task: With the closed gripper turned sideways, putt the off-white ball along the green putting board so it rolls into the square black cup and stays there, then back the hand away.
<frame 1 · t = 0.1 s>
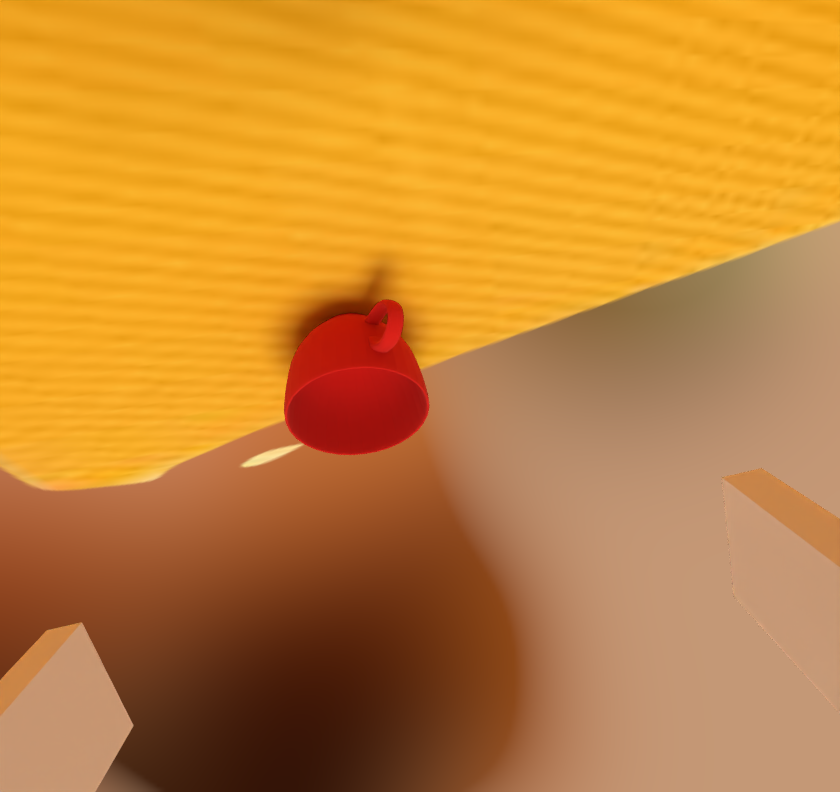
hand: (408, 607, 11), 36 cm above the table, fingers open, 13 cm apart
ceramic cup: (356, 321, 53), on the table
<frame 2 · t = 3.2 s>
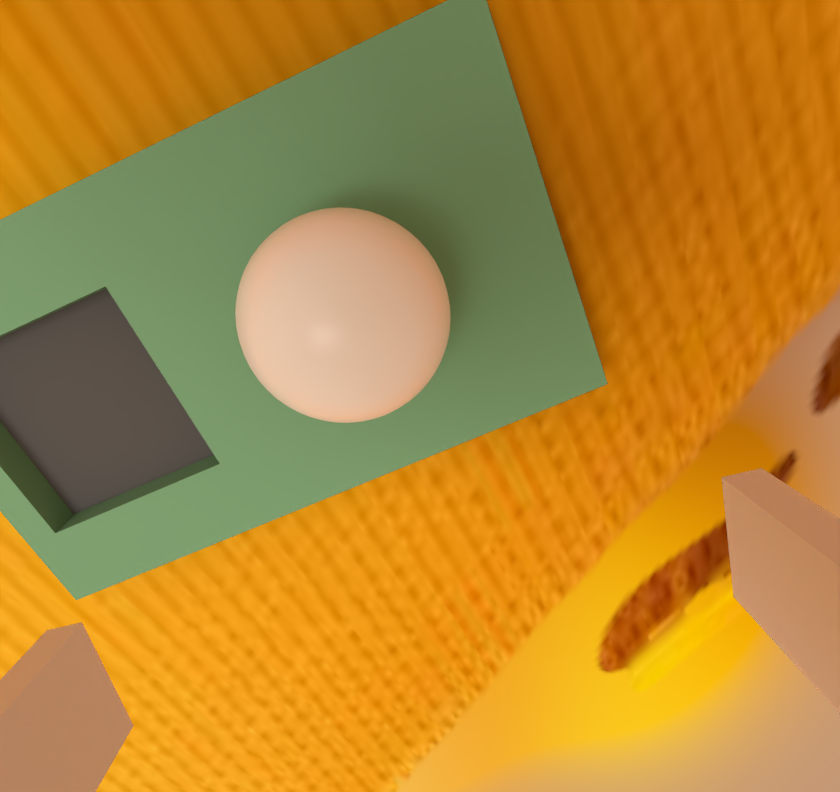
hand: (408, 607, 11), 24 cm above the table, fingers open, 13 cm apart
putting board: (252, 336, 33), on the table
ball: (345, 318, 26), point 7 cm above the table, touching putting board
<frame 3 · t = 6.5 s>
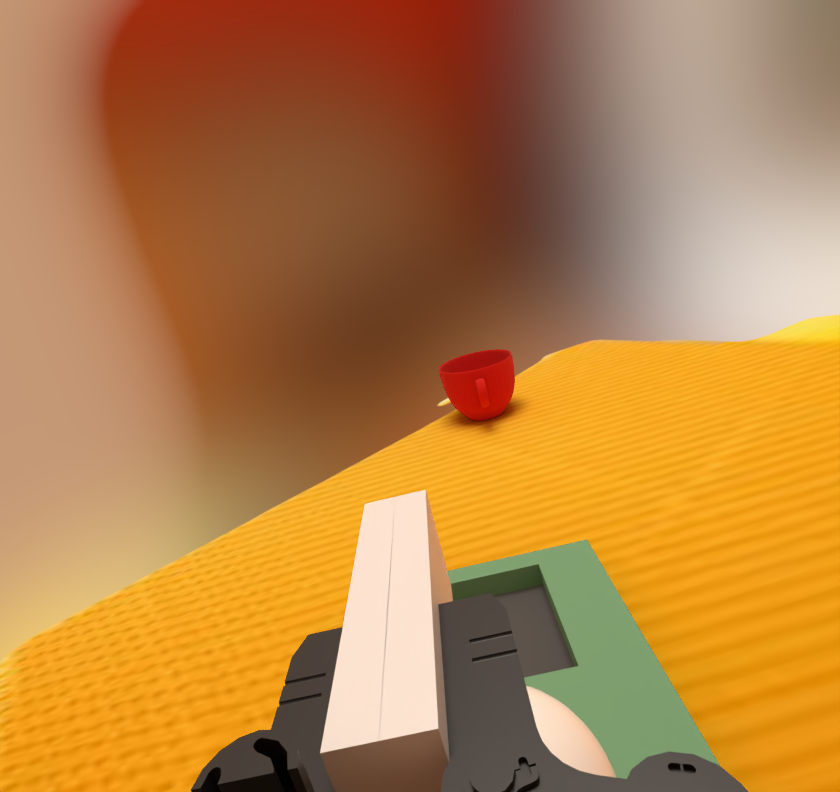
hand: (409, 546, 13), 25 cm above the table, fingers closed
ceramic cup: (487, 418, 95), on the table
putting board: (512, 782, 33), on the table
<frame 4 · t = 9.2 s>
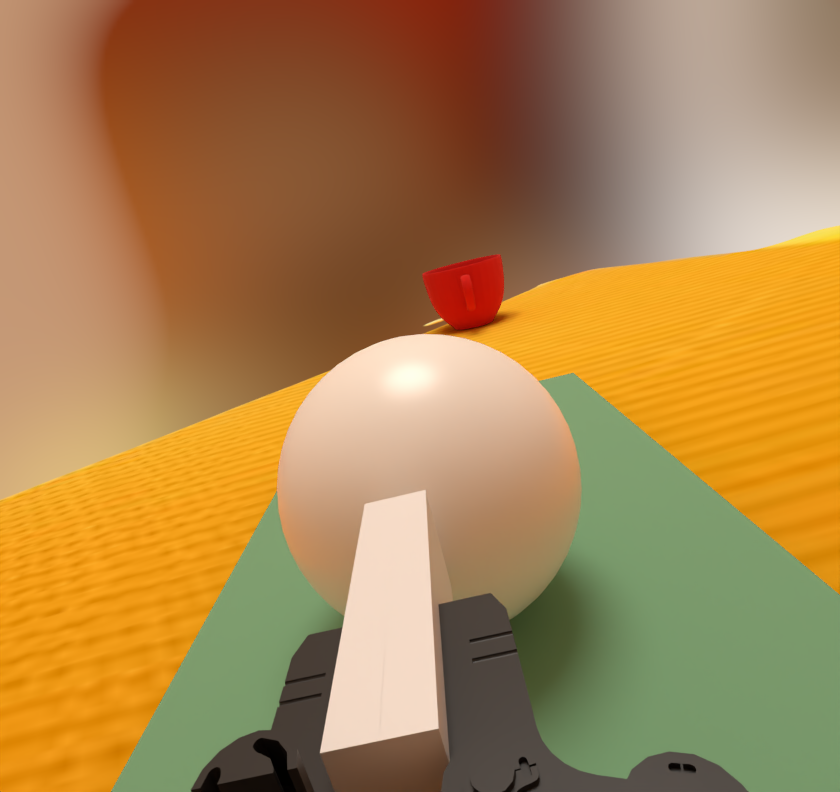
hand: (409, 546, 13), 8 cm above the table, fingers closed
ceramic cup: (475, 327, 88), on the table
putting board: (466, 569, 26), on the table
ball: (428, 481, 18), point 7 cm above the table, tilted 15°, touching putting board
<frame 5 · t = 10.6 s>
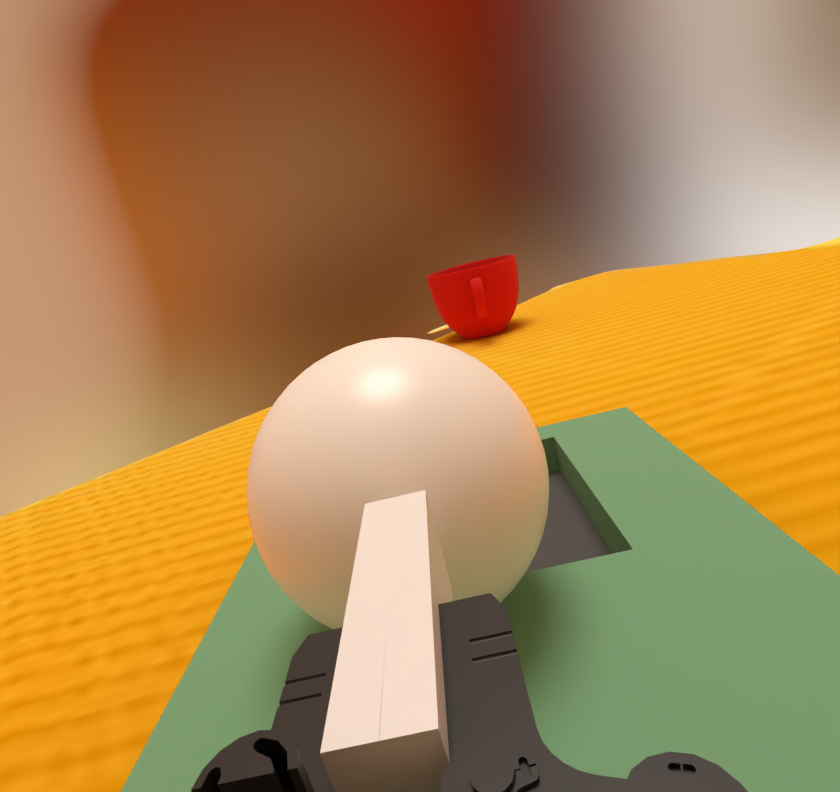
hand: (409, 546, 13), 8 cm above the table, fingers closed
ceramic cup: (485, 336, 78), on the table
putting board: (510, 753, 16), on the table
ball: (399, 483, 19), point 7 cm above the table, tilted 130°, touching putting board
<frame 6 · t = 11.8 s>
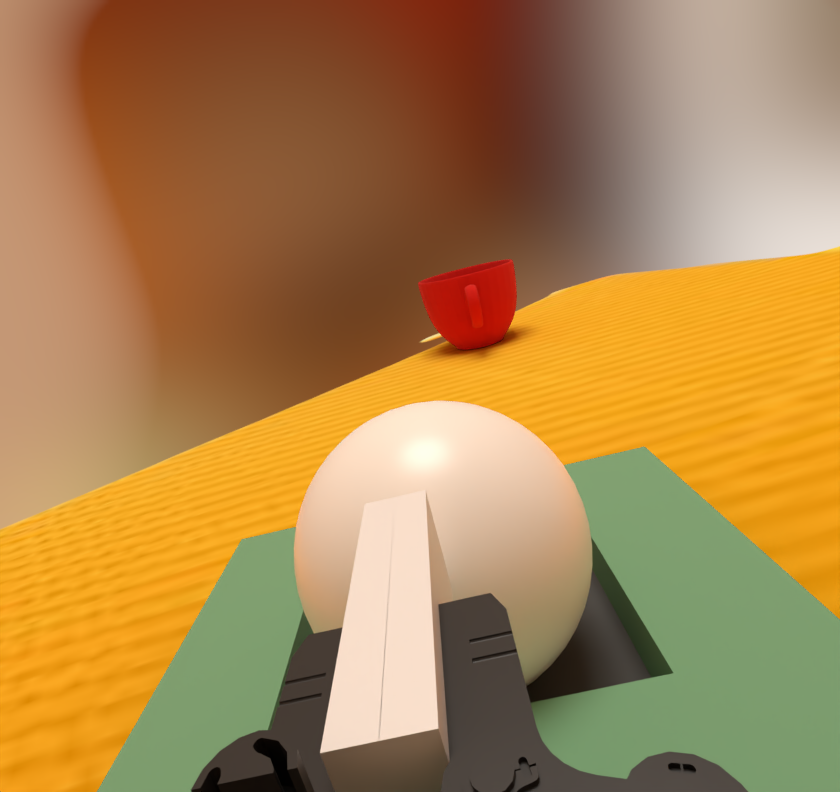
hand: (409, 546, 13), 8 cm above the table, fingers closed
ceramic cup: (481, 347, 73), on the table
ball: (441, 545, 19), point 5 cm above the table, tilted 145°, touching gripper, putting board
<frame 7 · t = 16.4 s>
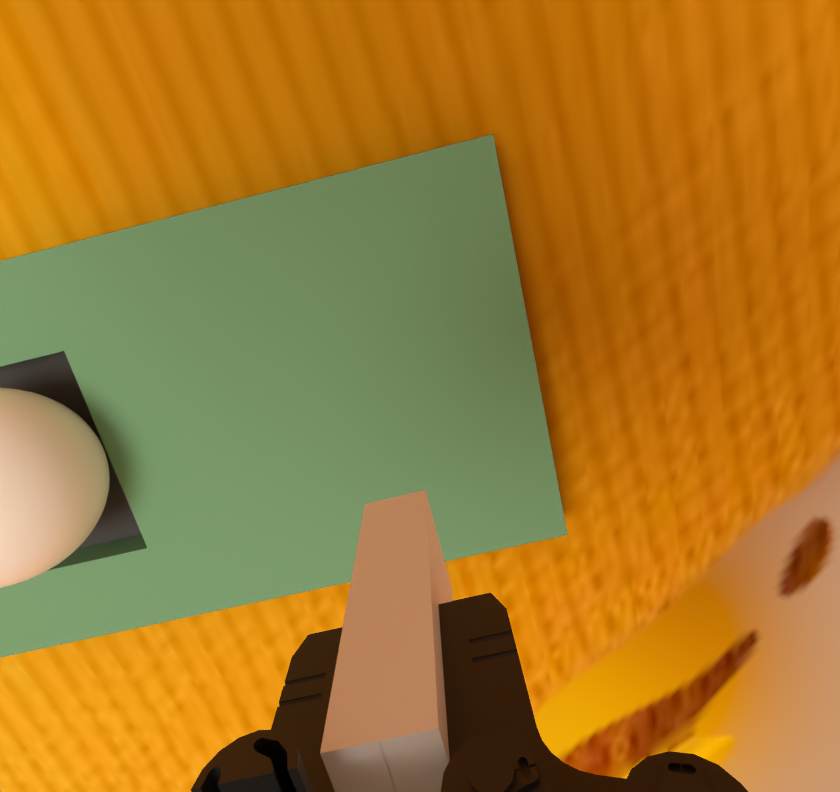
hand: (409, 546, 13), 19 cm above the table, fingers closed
putting board: (210, 420, 32), on the table
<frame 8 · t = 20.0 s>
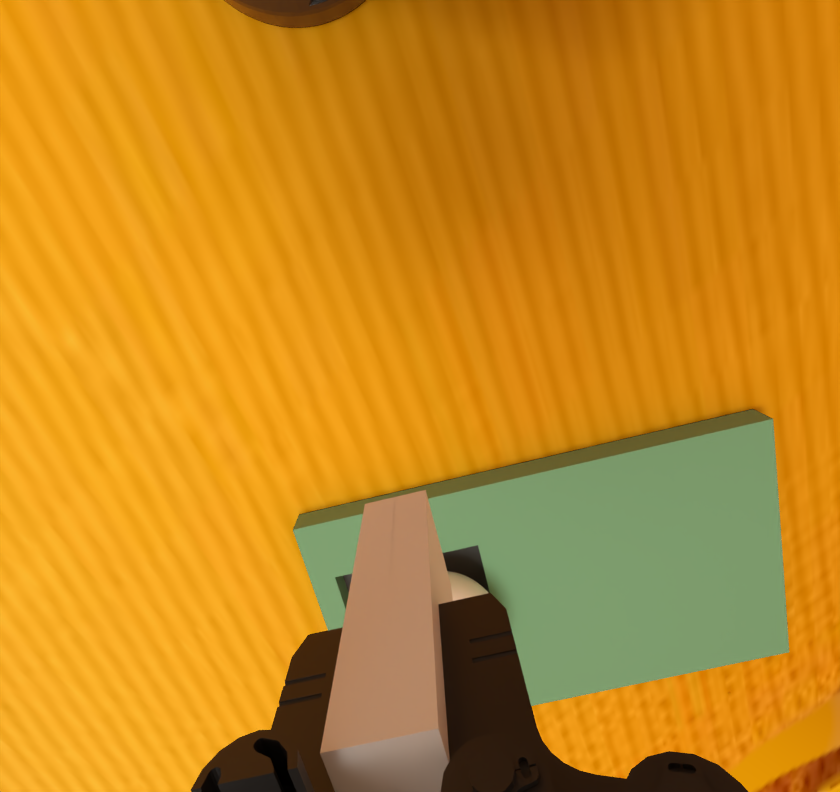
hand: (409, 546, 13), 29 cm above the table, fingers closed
putting board: (544, 575, 47), on the table
ball: (442, 637, 43), point 5 cm above the table, tilted 144°, touching putting board
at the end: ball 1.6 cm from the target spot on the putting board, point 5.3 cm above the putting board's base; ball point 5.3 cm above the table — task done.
